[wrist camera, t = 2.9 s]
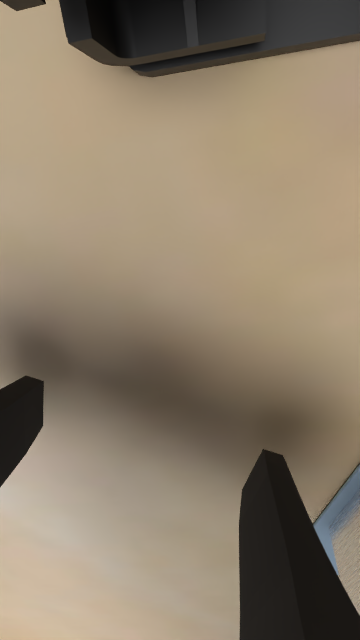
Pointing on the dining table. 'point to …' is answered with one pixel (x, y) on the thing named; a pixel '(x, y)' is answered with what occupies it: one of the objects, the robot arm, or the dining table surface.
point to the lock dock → (336, 513)
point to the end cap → (200, 30)
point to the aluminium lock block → (348, 548)
